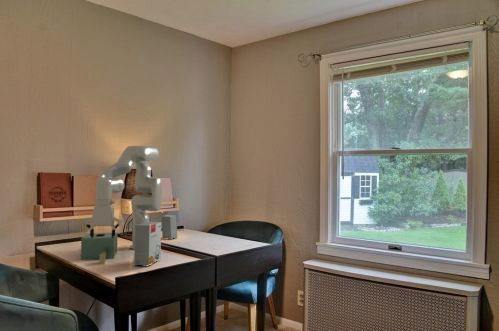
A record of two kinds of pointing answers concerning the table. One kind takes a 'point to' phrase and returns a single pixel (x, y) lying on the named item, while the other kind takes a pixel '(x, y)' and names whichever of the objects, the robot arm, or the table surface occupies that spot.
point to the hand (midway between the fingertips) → (102, 237)
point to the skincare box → (169, 226)
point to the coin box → (98, 245)
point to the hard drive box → (147, 243)
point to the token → (102, 258)
